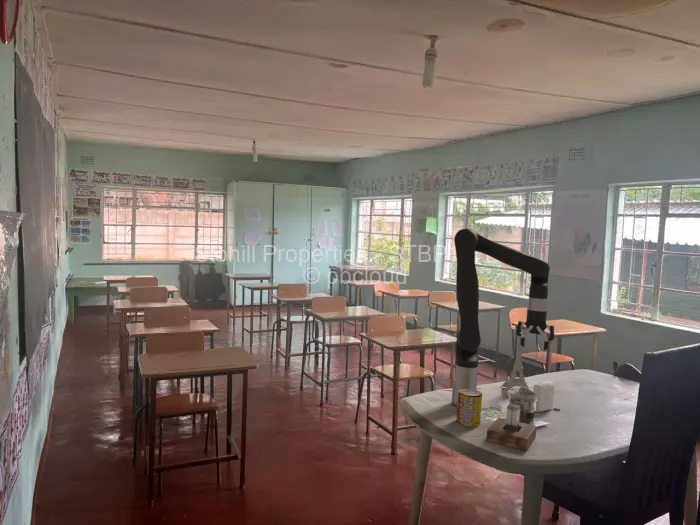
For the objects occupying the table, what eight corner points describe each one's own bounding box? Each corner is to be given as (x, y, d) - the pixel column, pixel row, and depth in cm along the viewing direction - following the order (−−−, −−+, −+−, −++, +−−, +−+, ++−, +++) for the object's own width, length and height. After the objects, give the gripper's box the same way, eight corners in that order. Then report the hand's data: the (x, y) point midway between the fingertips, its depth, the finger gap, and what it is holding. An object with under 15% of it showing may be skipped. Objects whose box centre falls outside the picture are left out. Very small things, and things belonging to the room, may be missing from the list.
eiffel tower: (529, 389, 252) (534, 328, 249) (532, 398, 239) (537, 333, 237) (500, 386, 254) (505, 325, 252) (502, 394, 242) (507, 330, 239)
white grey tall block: (504, 436, 189) (507, 406, 188) (507, 432, 192) (510, 403, 192) (515, 438, 187) (517, 408, 186) (518, 435, 190) (520, 405, 190)
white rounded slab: (545, 406, 228) (547, 378, 227) (553, 409, 225) (556, 381, 224) (530, 410, 222) (532, 381, 222) (538, 413, 219) (540, 384, 218)
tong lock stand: (486, 440, 187) (487, 429, 186) (497, 428, 200) (498, 417, 199) (526, 451, 180) (527, 439, 179) (535, 437, 193) (536, 426, 192)
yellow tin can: (454, 417, 209) (456, 388, 208) (477, 419, 208) (479, 389, 207) (458, 426, 200) (460, 395, 199) (482, 427, 199) (484, 396, 199)
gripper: (516, 307, 212) (513, 347, 213) (554, 312, 205) (550, 353, 206) (521, 305, 218) (518, 344, 219) (557, 310, 211) (554, 349, 212)
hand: (534, 348), depth 213 cm, fingers open, 8 cm apart
